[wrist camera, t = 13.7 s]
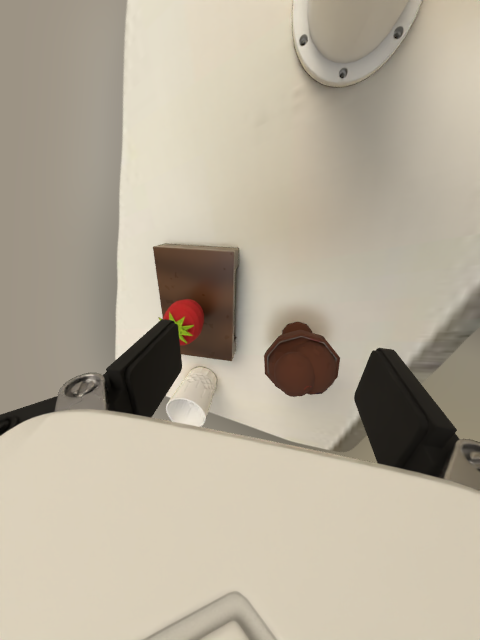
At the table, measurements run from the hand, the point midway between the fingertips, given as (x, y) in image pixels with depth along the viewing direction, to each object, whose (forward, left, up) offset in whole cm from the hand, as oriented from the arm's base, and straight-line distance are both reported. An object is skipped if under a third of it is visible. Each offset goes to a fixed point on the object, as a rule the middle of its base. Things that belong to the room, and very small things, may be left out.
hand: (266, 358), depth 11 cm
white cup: (+28, -14, -28) cm, 42 cm away
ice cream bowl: (+14, +5, -28) cm, 31 cm away
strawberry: (+9, -13, -24) cm, 28 cm away
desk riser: (+9, -13, -28) cm, 32 cm away
